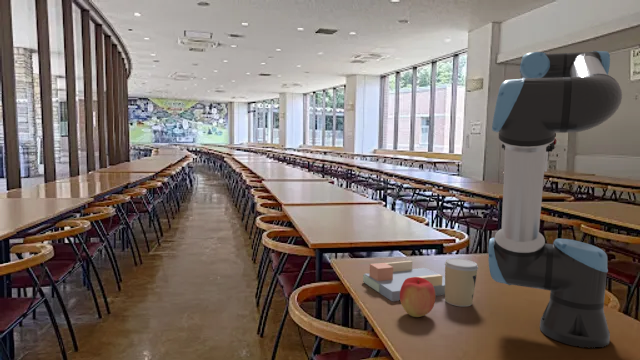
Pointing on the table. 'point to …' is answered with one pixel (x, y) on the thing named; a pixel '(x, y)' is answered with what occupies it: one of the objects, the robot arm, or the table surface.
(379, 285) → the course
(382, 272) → the block
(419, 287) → the apple
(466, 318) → the table surface
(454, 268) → the coffee cup
